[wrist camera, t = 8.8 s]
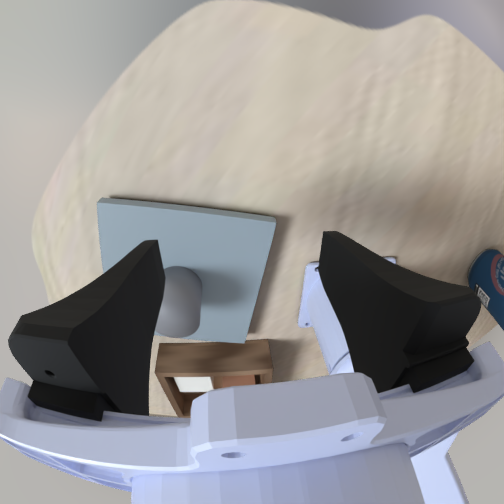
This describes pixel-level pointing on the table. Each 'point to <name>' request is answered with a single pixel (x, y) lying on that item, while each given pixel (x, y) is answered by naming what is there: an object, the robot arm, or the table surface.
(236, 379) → the terracotta block
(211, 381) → the off-white block
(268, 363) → the storage box
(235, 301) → the lid
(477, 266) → the soda can
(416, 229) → the table surface
